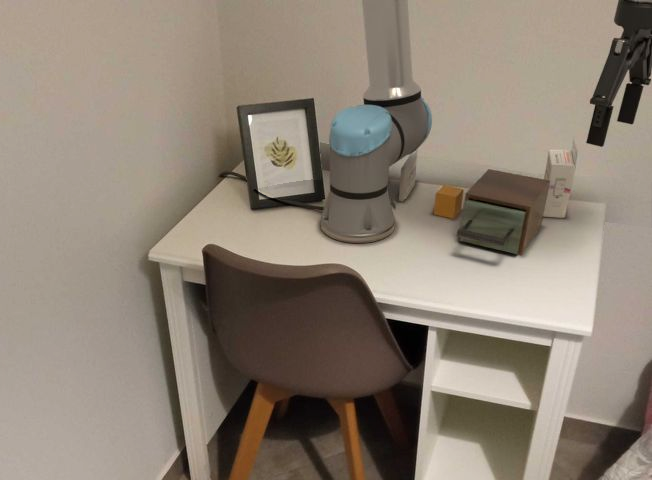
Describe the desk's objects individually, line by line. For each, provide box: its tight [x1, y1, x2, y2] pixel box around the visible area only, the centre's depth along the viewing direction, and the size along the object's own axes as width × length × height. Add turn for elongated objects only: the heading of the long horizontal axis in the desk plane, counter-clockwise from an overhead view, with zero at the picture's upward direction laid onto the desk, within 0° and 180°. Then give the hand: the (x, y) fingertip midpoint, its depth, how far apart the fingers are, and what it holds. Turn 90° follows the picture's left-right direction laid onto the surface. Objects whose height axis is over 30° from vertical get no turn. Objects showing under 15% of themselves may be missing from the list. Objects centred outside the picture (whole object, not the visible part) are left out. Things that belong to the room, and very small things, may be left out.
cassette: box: [398, 149, 418, 203], centre depth 158 cm, size 12×2×8 cm, turn 159°
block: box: [433, 184, 465, 219], centre depth 150 cm, size 4×4×5 cm
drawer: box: [456, 199, 526, 255], centre depth 137 cm, size 19×11×8 cm, turn 149°
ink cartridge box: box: [543, 136, 579, 219], centre depth 148 cm, size 9×5×15 cm, turn 168°
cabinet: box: [460, 168, 550, 256], centre depth 141 cm, size 14×13×10 cm
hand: (610, 133), depth 122 cm, fingers open, 13 cm apart
